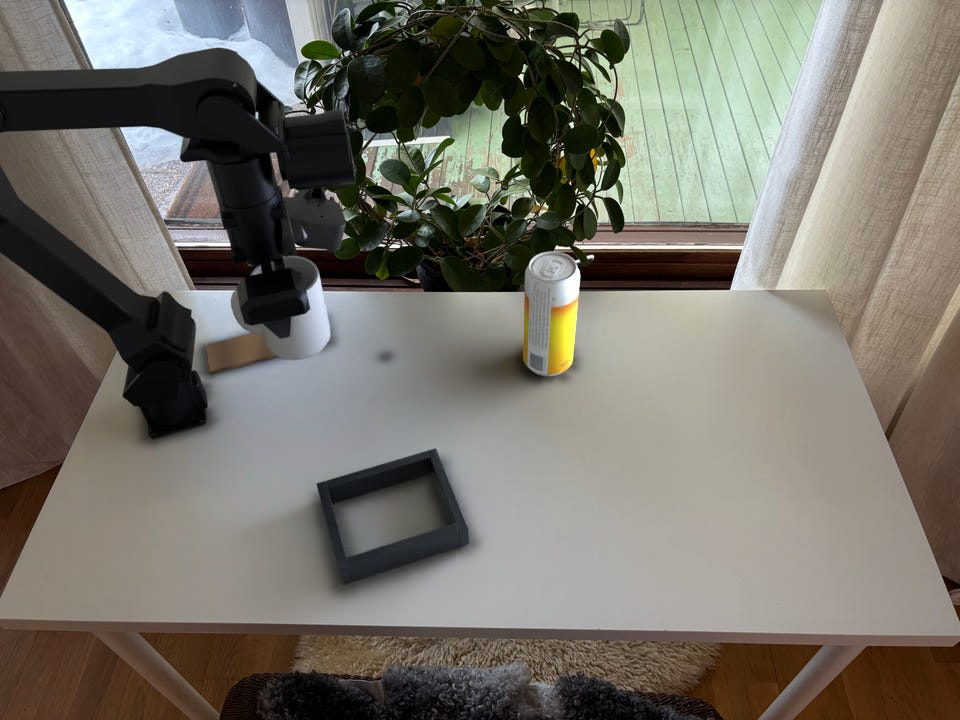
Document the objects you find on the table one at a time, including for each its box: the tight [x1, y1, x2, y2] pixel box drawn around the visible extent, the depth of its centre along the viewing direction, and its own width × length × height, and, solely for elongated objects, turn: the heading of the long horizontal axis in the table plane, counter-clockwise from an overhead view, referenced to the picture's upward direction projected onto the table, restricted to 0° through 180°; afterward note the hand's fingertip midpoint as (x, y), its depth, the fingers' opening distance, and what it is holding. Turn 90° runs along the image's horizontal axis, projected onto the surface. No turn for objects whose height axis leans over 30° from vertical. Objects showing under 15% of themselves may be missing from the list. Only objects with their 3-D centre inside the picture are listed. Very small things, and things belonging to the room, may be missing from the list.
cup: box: [230, 255, 331, 361], centre depth 85 cm, size 7×10×9 cm
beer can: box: [522, 251, 581, 377], centre depth 92 cm, size 6×6×15 cm
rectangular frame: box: [316, 448, 470, 586], centre depth 80 cm, size 13×11×3 cm
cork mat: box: [205, 333, 331, 375], centre depth 100 cm, size 15×5×1 cm, turn 110°
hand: (279, 314), depth 85 cm, fingers closed on cup, 7 cm apart
